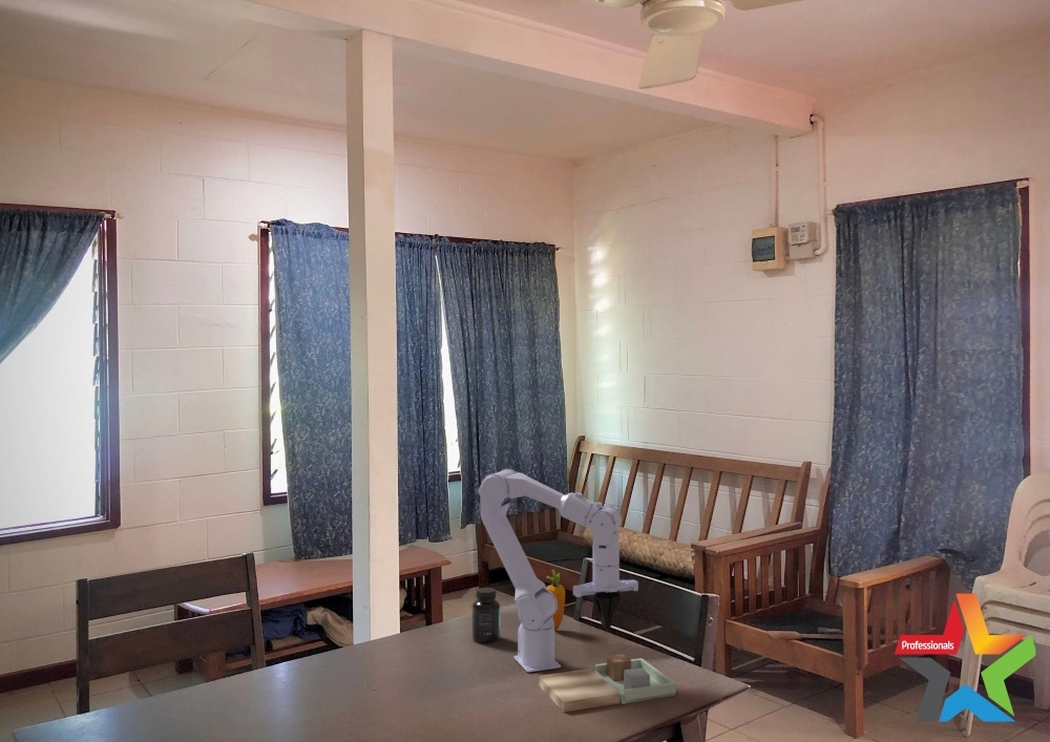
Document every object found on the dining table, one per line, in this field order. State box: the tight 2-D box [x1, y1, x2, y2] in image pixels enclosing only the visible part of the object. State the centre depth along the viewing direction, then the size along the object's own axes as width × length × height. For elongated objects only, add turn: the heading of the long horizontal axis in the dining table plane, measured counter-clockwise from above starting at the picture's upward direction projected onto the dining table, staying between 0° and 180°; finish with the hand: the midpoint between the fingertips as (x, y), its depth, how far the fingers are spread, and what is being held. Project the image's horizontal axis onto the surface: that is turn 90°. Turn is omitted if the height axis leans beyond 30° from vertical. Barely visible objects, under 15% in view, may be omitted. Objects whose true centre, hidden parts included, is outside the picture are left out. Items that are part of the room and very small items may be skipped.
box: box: [594, 657, 677, 705], centre depth 176 cm, size 15×12×2 cm
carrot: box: [546, 569, 566, 632], centre depth 211 cm, size 5×5×15 cm
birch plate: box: [538, 668, 621, 713], centre depth 172 cm, size 14×12×2 cm
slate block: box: [624, 668, 650, 689], centre depth 172 cm, size 4×4×4 cm
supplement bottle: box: [471, 587, 502, 645], centre depth 205 cm, size 7×7×12 cm
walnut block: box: [605, 653, 632, 681], centre depth 180 cm, size 4×4×4 cm
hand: (606, 626), depth 183 cm, fingers closed
